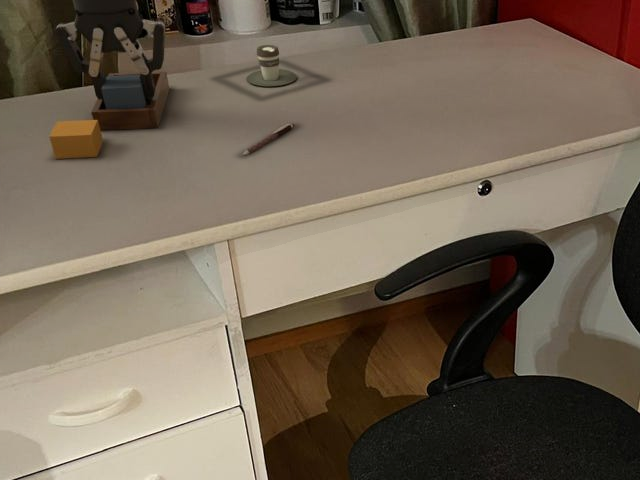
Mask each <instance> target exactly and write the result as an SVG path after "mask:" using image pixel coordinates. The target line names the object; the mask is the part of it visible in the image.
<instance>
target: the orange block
mask: <svg viewBox="0 0 640 480" xmlns="http://www.w3.org/2000/svg"><path fill="white" fill-rule="evenodd" d="M48 137H49V140H50V144H51V148H52V152H53V154H54V158H55V160H61V159H80V158H81V159H83V158H97V157H98V155H99V152H100V151H101V149H102V146H103V143H104V139H103V135H102V130H100V127H99V123H98V120H93V119H83V120H82V119H81V120H64V121H63V120H62V121H59V120H58V121H56V123H55V125H54V127H53V129H52V131H51V132H50V135H49V136H48Z"/></svg>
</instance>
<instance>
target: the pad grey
mask: <svg viewBox="0 0 640 480" xmlns="http://www.w3.org/2000/svg"><path fill="white" fill-rule="evenodd" d="M105 78H106V80H105V83H104V85H103V86H102V88H101V90H102V94H103V98H104V102H105V106H106V110H109V109H133V108H145V107H146V104H147V102H146V101H145V97H144V92H143V88H142V84H141V81H140V75H121V76H108V75H107V76H106V77H105Z"/></svg>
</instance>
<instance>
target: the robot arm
mask: <svg viewBox="0 0 640 480" xmlns="http://www.w3.org/2000/svg"><path fill="white" fill-rule="evenodd" d="M72 3H73V7H74V11H75V19H74V21H71V22H68V23H65V22H60V23H59V24H58V25H57V26H56V28H55V29H54V34H55V37H56V39H57V41H58V42H59V44H60V46H61V48H62V50H63V52H64V54H65V56H66V58H67V59H68V60H67V61H68V62H69V63H70V65H71V67H72V69H73V71H74V72H75V73H78V74H81V73H83V74H85V75H88V76H89V77H90V78H91V81H92V85H93V89H94V93H95V97H96V98H97V99H102V103H105V102H104V98H103V94H102V90H101V88H102V86H103V85H104V83H105V80H106V78H107V77H106V73H105V71H103V70H102V67H103V58H104V54H105V53H112V52H114V51H115V52H119V53H126V54H127V56H128V57H129V58H130V60H131V61H132V62H133V63H134V65H135V67H136V68H137V70H138V71H139V72H140V81H141V84H142V88H143V92H144V97H145V101H146V102H147V101H151V99H152V97H154V94H155V90H156V89H155V85H154V80H153V75H152V72H156V71H159V70H161V69H162V67H163V65H164V61H165V45H166V44H165V43H166V22H165V21H164V20H163V19H158V20H156V21H155V20H150V19H144V17H143V15H142V14H141V13H140V11H139V9H138V4H137V0H72ZM143 29H144V30H146V32H147V36H148V37H149V38H150V39H152V41H153V43H152V58H148V57H147V55H146V53H145V52H144V48H143V46H142V44H141V43H140V41H139V39H138V38H139V36H140V35H141V33H142V31H143ZM77 31H78V32H79V33H80V35H81V36H83V37H84V38H85V39H86V40H87V41H88V42H89V43H90V44H91V47H90V55H89V60H86V59H85V57H84V55H83V53H82V51H81V49H80V47H79V45H78V43H77V41H76V39H77V37H78V33H77Z"/></svg>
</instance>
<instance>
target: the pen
mask: <svg viewBox="0 0 640 480" xmlns="http://www.w3.org/2000/svg"><path fill="white" fill-rule="evenodd" d="M293 127H295V124H294V123H292V124H291V123H290V122H289V123H287V124H284V125H283V126H281V127H278V129H276V130H274V131H273V132H272V133H271V134H270V135H269V136H267V137H265V138H263V139H262V140H261V141H259V142H257V143H255V144H254V145H252V146H250V147H249V148H247V149H246V150H245V151H244V152H243V154H242V156H248V155H251V154H253V153H255V152H256V151H257V150H259V149H261V148H263V147H264V146H266V145H268V144H269V143H272V142H273V141H275V140H276V139H278V138H280V137H281V136H283V135H285V134H286V133H288V132H289V131H291V130H292V129H293Z"/></svg>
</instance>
